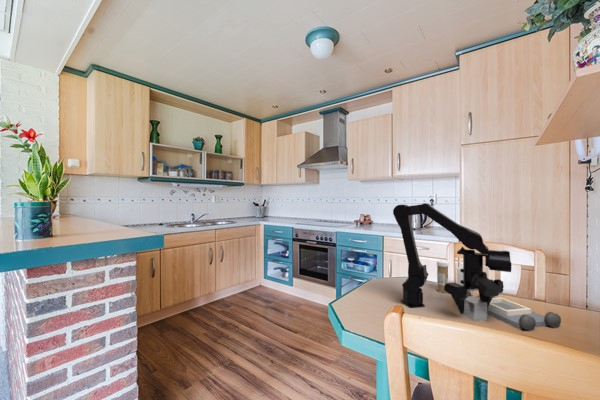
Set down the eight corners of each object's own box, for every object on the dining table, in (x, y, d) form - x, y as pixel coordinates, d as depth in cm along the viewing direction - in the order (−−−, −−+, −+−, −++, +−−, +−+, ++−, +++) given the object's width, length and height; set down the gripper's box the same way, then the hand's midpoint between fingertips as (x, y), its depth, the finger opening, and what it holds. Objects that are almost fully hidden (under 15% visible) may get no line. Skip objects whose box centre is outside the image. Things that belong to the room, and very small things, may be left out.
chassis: (524, 331, 78) (524, 317, 78) (459, 300, 103) (458, 289, 103) (561, 327, 81) (560, 313, 81) (488, 297, 106) (488, 287, 106)
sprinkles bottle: (451, 292, 112) (450, 262, 112) (442, 293, 111) (442, 262, 111) (443, 289, 116) (442, 260, 116) (434, 290, 115) (434, 260, 116)
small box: (472, 295, 109) (472, 271, 109) (457, 292, 112) (457, 268, 112) (473, 290, 115) (473, 267, 115) (459, 287, 118) (459, 265, 119)
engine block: (474, 321, 85) (474, 303, 85) (460, 314, 91) (460, 297, 91) (487, 320, 86) (487, 302, 86) (472, 312, 92) (472, 296, 92)
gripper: (469, 275, 79) (469, 326, 79) (518, 272, 83) (519, 320, 82) (443, 266, 90) (443, 310, 90) (487, 264, 94) (487, 306, 93)
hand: (473, 312), depth 89 cm, fingers open, 9 cm apart
